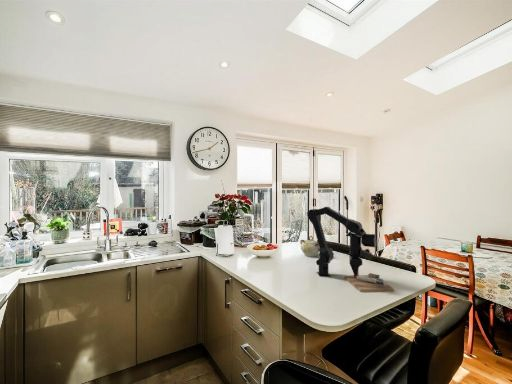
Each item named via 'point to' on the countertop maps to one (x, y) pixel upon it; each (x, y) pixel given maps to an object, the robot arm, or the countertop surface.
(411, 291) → the countertop surface
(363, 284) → the cracker base
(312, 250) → the sugar bowl
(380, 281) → the lever
